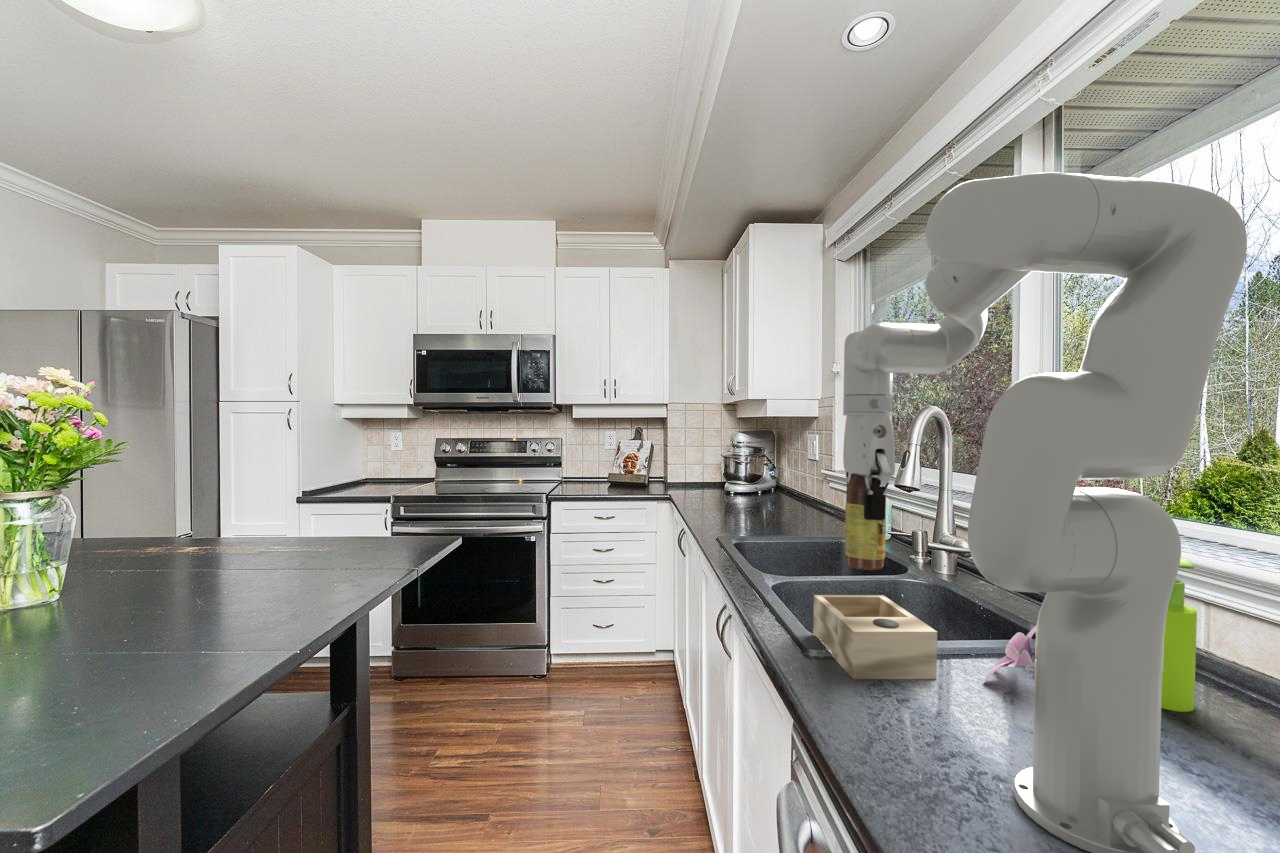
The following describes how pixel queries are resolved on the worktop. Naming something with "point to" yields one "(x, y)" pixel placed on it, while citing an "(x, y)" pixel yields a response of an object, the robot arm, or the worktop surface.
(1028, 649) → the lily
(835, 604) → the caddy
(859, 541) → the sauce bottle
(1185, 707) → the soap dispenser
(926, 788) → the worktop surface
